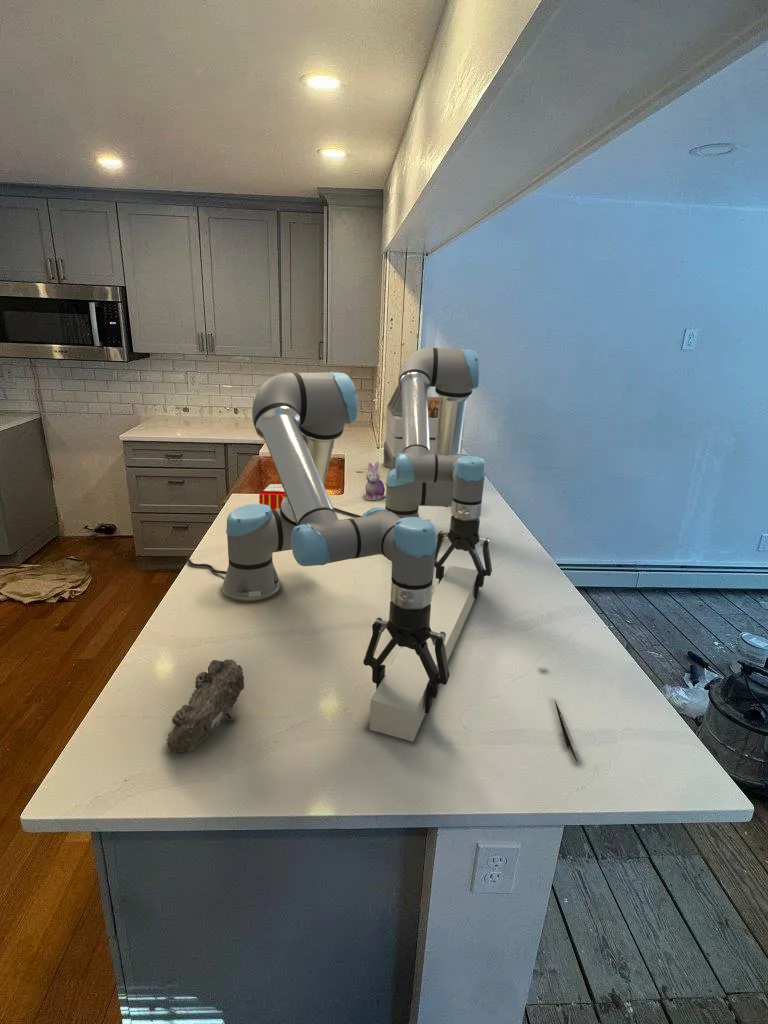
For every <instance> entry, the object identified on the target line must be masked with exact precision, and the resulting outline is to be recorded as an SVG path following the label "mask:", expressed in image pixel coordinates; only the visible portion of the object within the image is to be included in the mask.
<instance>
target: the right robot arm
mask: <svg viewBox="0 0 768 1024" xmlns="http://www.w3.org/2000/svg"><path fill="white" fill-rule="evenodd" d="M397 382H398V385H397V386H399V389H400V391H401V392H402V450H403V453H402V454H398V455H397V456H396V465H395V467H396V468H395V469H392V470H391V471H390V470H389V471H388V473H387V475H386V482H385V487H386V488H385V504H384V505H385V507H384V509H386V510H388V511H390V512H393V513H395V514H396V515H397V516H398V517H399V518H401V519H402V518H405V517H419V518H420V515H419V507H441V508H442V507H444V508H449V507H451V511H450V512H451V516H450V524H449V531H444V530H439V531H438V533H437V534H436V543H437V548H436V554H435V564H434V568H435V574H434V576H435V579H436V580H438V583H437V586H438V585H439V583H440V581H441V580H442V578H443V576H444V575H445V565H444V563H445V562H446V560H447V559H448V558H449V557H450V555H451V554H452V552H453V551H454V550H459V551H461V550H462V551H464V552H468V554H469V555H470V557H471V559H472V562H473V564H474V567H475V570H477V571H478V574H477V576H476V583H475V592H474V600H477V599H478V596H479V593H480V588H483V586H484V583H485V577H490V576H491V575H492V572H493V566H492V560H491V553H490V543H491V539H490V538H489V537H486V538H483V537H481V536H480V533H479V531H480V523H481V519H480V517H481V513H482V504H483V495H484V487H485V486H484V485H485V478H486V473H487V471H486V461H485V459H483V458H481V457H479V456H475V455H474V456H473V455H469V454H467V453H466V452H462V453H460V447H461V440H462V439H463V438H462V431H463V423H464V424H465V421H464V420H465V416H466V415H465V413H466V406H467V400H468V399H469V398H470V397H471V396H472V394H473V390H476V389H478V388H479V387H480V386H479V385H480V361H479V357H478V353H477V352H476V351H475V350H473V349H468V348H467V349H466V348H461V347H460V348H459V347H458V348H457V347H455V348H454V347H431V346H430V347H423V348H420V349H418V350H416V351H414V352H413V353H412V354H410V355H409V357H407V358H406V360H404V362H403V364H402V367H400V371H399V373H398V381H397ZM431 387H433V388H434V392H435V394H436V395H437V397H439V407H438V417H437V427H436V437H435V447H434V455H430V446H429V422H428V398H427V397H428V391H429V390H430V388H431ZM333 509H334V511H335V512H338V513H340V514H343V515H344V514H345V515H348V516H352V517H353V518H358V517H362V515H359V514H357V513H352V512H349V511H346V510H343V509H341V508H336V507H334V506H333ZM447 538H448V540H449V542H450V543H451V544H450V546H449V547H448V548H447V550H446V551H445V553H443V554H442V557H441V558H440V559H439V560H438V556H439V554H440V551H441V549H442V546H443V543H444V541H446V539H447ZM478 543H479V544H480V547H481V548H482V556H483V563H484V565H483V563H482V560H481V558H480V556H479V555H480V554H479V553H478V550H477V547H476V545H477V544H478Z"/></svg>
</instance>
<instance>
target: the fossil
mask: <svg viewBox="0 0 768 1024" xmlns="http://www.w3.org/2000/svg"><path fill="white" fill-rule="evenodd" d="M243 670H244V669H243V667H242V665H240V664H237V662H236V661H235V660H234V659H232V658H231V659H227V658H226V659H224V660H223V661H222V660H217V659H212V660H211V661H210V663H209V665H208V666H207V671H201V672H199V673H198V674H197V675H196V676H195V680H194V684H195V685H194V687H195V689H194V690H193V693H192V694H191V697H190V698H189V700H188V704H184V705H182V706H181V707H180V709H177V710H176V711H175V713H174V715H173V716H172V718H171V723H172V724H173V727H172V730H171V731H170V732H168V734H167V738H166V741H167V742H166V745H167V749H168V750H169V751H173V752H174V753H176V754H178V753H182V752H188V751H189V752H192V751H193V750H195V748H196V747H197V746H199V744H200V743H201V742H203V741H204V740H205V739H206V738H207V737H208V736H209V735H210V734H211V733H212V732H214V730H215V729H217V727H218V726H219V724H220V722H221V721H222V720H223V719H224V718H225V716H226V717H227V719H229V720H233V717H232V715H230V714H229V710H230V709H231V708H234V706H235V704H236V703H237V702H238V699H239V697H240V695H241V693H242V691H243V690H245V689H244V688H245V675H244V671H243Z"/></svg>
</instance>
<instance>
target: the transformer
mask: <svg viewBox="0 0 768 1024" xmlns="http://www.w3.org/2000/svg"><path fill="white" fill-rule="evenodd" d="M427 398H428V422H429V446H430V455H434V447H435V437H436V427H437V417H438V407H439V396H427ZM385 414H386V415H385V423H386V428H385V438H384V442H383V466H384V467H388V468H389V472H390V471H391V470H392V469H395V468H396V467H395V465H396V456H397V455H398V454H402V453H403V450H402V392H401V391H400V389H399V386H398V385H397V386H396V388H395V390H394V392H393V394H392V395H391V398H390V400H389V402H388V404H387V405H386V413H385ZM464 429H465V419H464V423H463V431H462V439H463V438H464V431H465V430H464ZM462 439H461V447H460V453H463V442H464V441H463V440H462Z"/></svg>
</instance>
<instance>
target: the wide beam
mask: <svg viewBox="0 0 768 1024" xmlns="http://www.w3.org/2000/svg"><path fill="white" fill-rule="evenodd" d="M477 574H478V571H477V569H473V568H469V567H462V566H458V565H457V566H456V565H448V568H447V569H446V570H445V572H444V576H443V578H442V580H441V581H440V583H439V582H438V583H439V585H438V584H437V586H436V588H435V590H434V591H433V592H432V600H431V603H430V604H431V611H430V623H429V625H430V628H431V631H433V632H436V633H440V632H445V634H446V637H445V641H444V645H445V650H446V656H447V662H448V661H449V659H450V657H451V655H452V653H453V650H454V648H455V645H456V643H457V641H458V639H459V637H460V634H461V632H462V630H463V627H464V625H465V623H466V620H467V619H468V616H469V613H470V611H471V610H472V609H471V608H472V606H473V604H474V601H475V599H474V592H475V583H476V576H477ZM426 642H427V644H428V649H429V651H430V654H431V656H432V658H433V660H434V662H435V665H436V667H437V669H438V665H437V659H436V654H435V645H433V643H432V639H431V638H428V639H427V640H426ZM448 663H449V662H448ZM438 671H439V670H438ZM428 681H429V677H428V675H427V673H426V671H425V668H424V666H423V664H422V662H421V660H420V657H419V655H417V654H416V652H415V649H414V650H413V649H410V648H407V647H400V649H399V651H398V652H397V654H396V656H395V658H394V659H393V661H392V663H391V665H390V666H389V668H388V669H387V671H386V672H385V676H384V678H383V680H382V681H381V683H380V685H379V686H378V688H377V690H376V689H375V691H374V693H373V695H372V696H371V698H370V703H369V704H370V705H369V730H371V731H374V732H378V733H382V734H385V735H388V736H392V737H395V738H399V739H403V740H406V741H409V742H414V741H415V738H416V736H417V734H418V731H419V729H420V727H421V724H422V722H423V719H424V718H425V715H426V713H425V702H426V690H427V684H428Z"/></svg>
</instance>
